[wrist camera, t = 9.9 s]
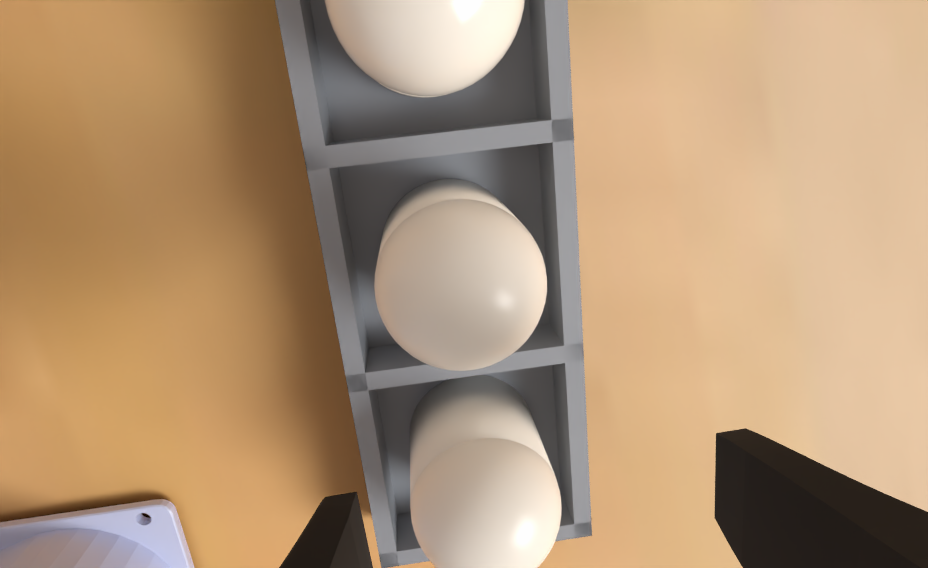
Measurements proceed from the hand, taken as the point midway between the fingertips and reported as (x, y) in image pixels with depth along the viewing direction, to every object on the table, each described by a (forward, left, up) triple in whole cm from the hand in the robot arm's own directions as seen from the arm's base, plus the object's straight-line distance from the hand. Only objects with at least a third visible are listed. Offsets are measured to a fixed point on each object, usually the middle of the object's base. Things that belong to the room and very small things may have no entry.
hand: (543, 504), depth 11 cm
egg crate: (-1, +3, -9) cm, 10 cm away
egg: (-1, +10, -9) cm, 13 cm away
